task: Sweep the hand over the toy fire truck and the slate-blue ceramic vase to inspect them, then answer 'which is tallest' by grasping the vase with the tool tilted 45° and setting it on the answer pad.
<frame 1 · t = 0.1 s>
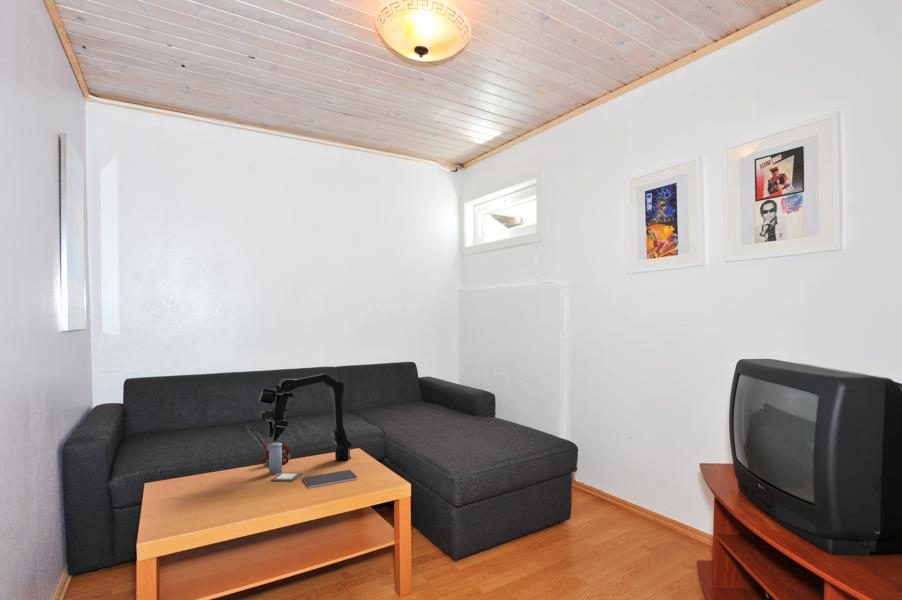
hand: (272, 438, 217), 15 cm above the table, tool pointing down, fingers open, 9 cm apart
notebook: (330, 481, 204), on the table
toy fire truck: (277, 464, 231), on the table
vase: (275, 472, 216), on the table
answer pad: (286, 477, 208), on the table
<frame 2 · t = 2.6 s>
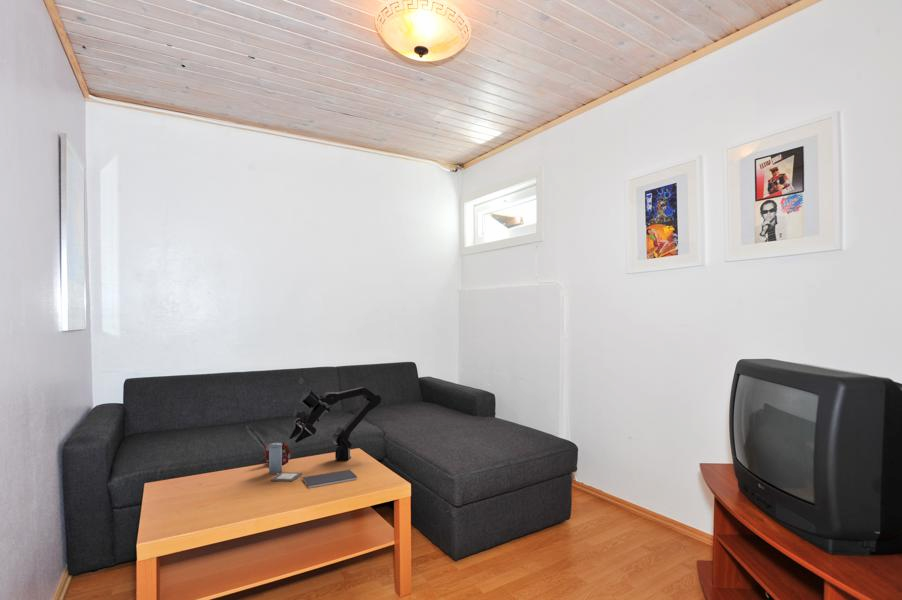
hand: (292, 440, 222), 14 cm above the table, tool tilted 45°, fingers open, 9 cm apart
nothing on the table moved.
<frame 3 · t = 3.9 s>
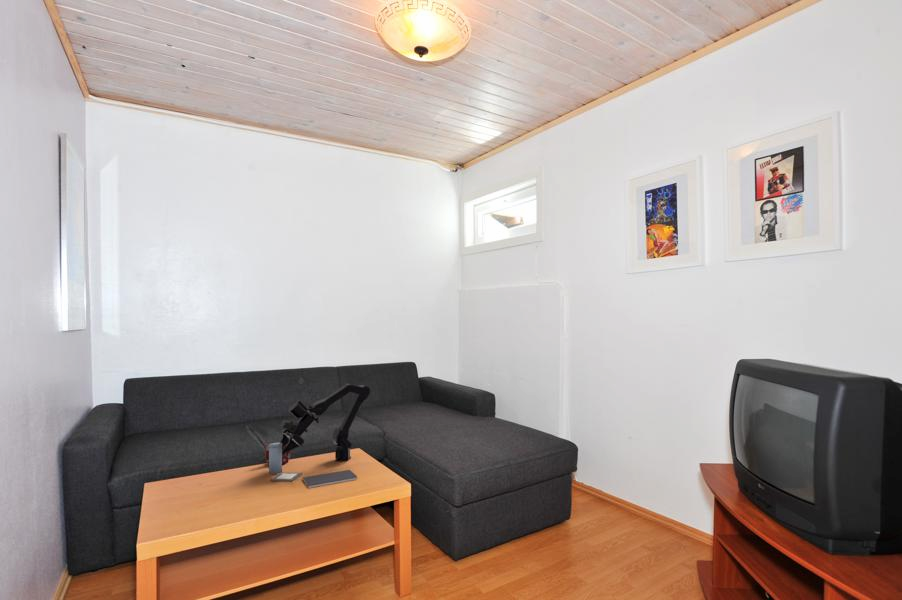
hand: (279, 451, 218), 9 cm above the table, tool tilted 45°, fingers open, 9 cm apart
nothing on the table moved.
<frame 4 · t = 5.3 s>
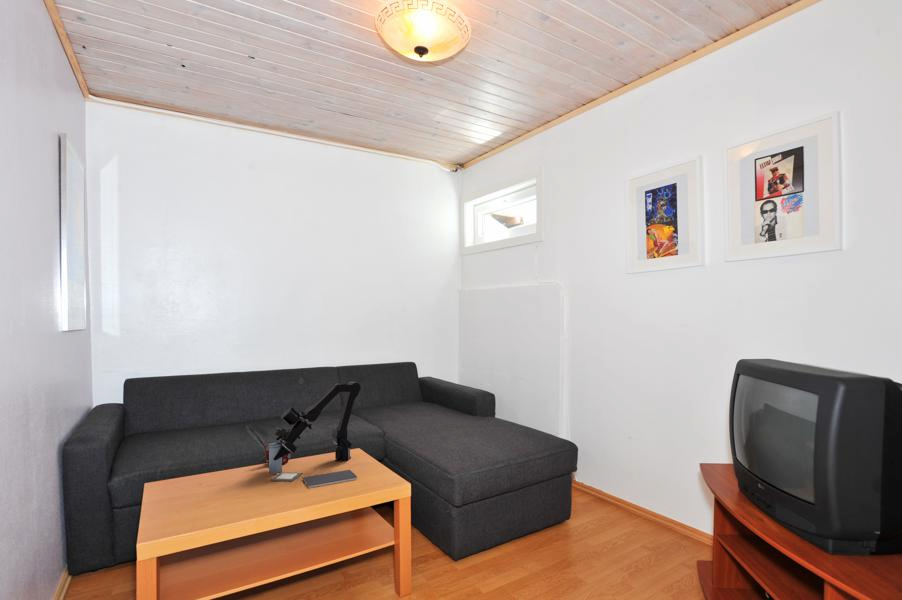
hand: (272, 458, 216), 7 cm above the table, tool tilted 45°, fingers closed on vase, 6 cm apart
vase: (275, 472, 216), on the table, touching gripper
everything else where it was.
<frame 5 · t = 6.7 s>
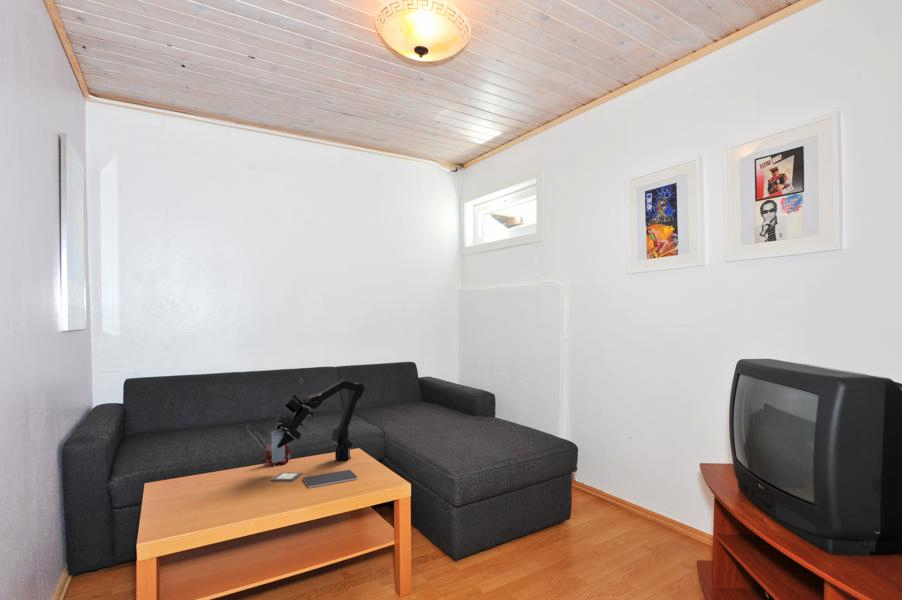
hand: (275, 446, 213), 13 cm above the table, tool tilted 45°, fingers closed on vase, 6 cm apart
vase: (278, 460, 214), point 6 cm above the table, touching gripper
everything else where it was.
when the fingers open (9 cm above the table, at t = 8.5 s): vase drops 1 cm, resting on answer pad.
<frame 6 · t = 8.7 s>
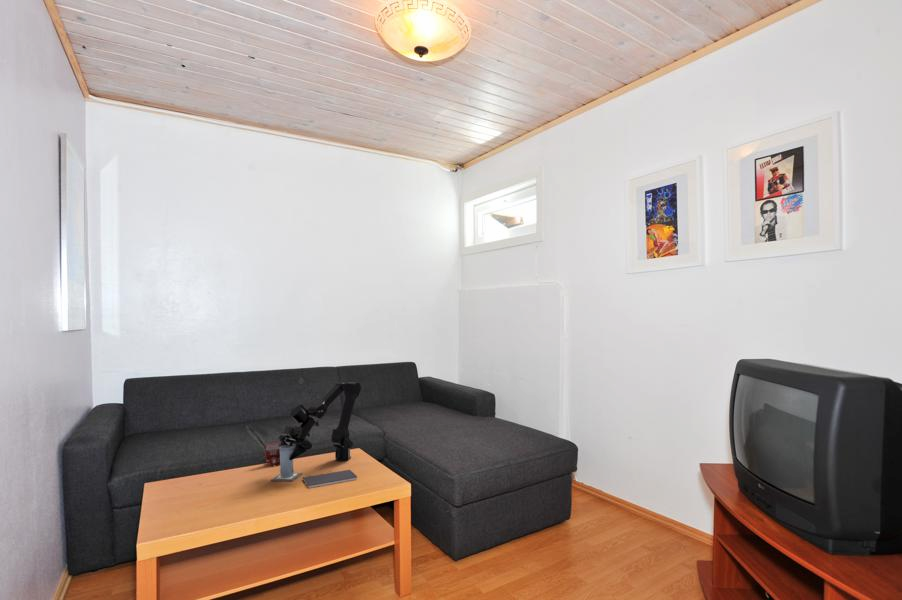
hand: (284, 458, 208), 9 cm above the table, tool tilted 45°, fingers open, 8 cm apart
vase: (287, 475, 208), point 1 cm above the table, touching answer pad
everything else where it was.
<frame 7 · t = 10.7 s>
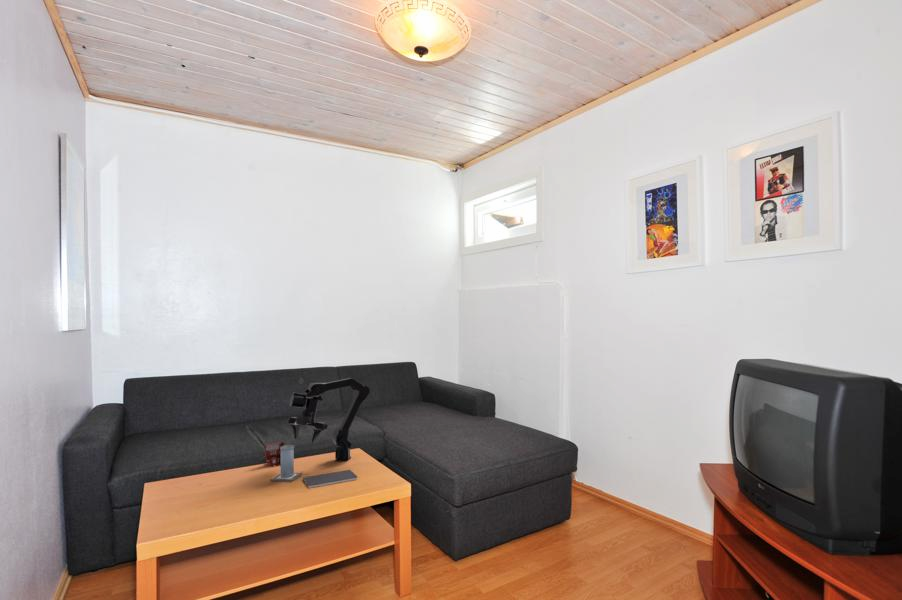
hand: (304, 441, 226), 12 cm above the table, tool pointing down, fingers open, 9 cm apart
nothing on the table moved.
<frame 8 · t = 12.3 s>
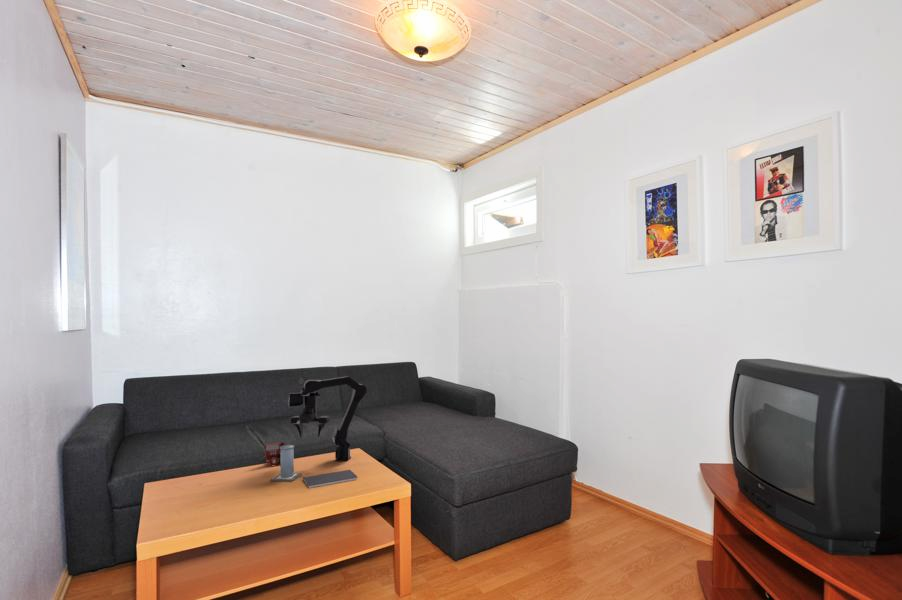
hand: (310, 437, 230), 13 cm above the table, tool pointing down, fingers open, 9 cm apart
nothing on the table moved.
at the end: vase inside the target area on the answer pad (0.1 cm from its centre), point 0.7 cm above the answer pad's base; vase tilted 1°; the gripper is holding nothing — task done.
